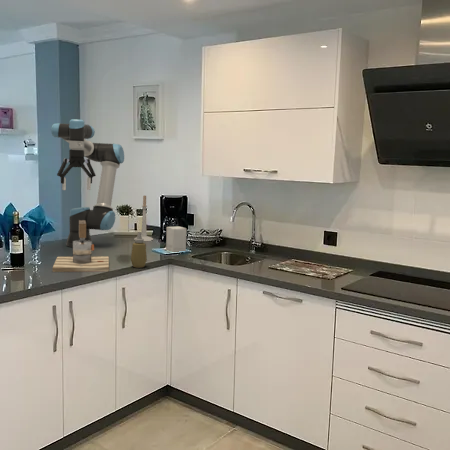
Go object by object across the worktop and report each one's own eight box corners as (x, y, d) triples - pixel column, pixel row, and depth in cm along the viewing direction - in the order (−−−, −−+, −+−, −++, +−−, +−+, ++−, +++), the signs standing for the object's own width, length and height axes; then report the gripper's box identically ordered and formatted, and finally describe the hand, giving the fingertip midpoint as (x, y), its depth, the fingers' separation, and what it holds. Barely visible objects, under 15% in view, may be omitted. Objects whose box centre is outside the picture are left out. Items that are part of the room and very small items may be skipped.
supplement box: (186, 253, 302) (187, 228, 300) (172, 254, 297) (173, 228, 295) (178, 250, 309) (179, 226, 307) (165, 251, 304) (166, 226, 302)
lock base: (57, 260, 268) (57, 249, 267) (108, 260, 274) (108, 249, 273) (52, 271, 243) (52, 259, 242) (108, 271, 249) (108, 259, 248)
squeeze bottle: (133, 268, 257) (134, 233, 254) (128, 265, 264) (129, 230, 261) (148, 267, 260) (149, 232, 258) (143, 264, 268) (144, 230, 265)
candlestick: (135, 242, 331) (136, 195, 327) (132, 238, 343) (133, 193, 339) (155, 241, 335) (156, 196, 331) (151, 238, 347) (152, 194, 343)
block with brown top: (73, 256, 251) (73, 223, 249) (72, 251, 262) (72, 220, 260) (94, 255, 254) (94, 223, 252) (93, 250, 265) (93, 220, 263)
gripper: (55, 148, 258) (55, 190, 261) (102, 150, 274) (101, 190, 277) (50, 148, 264) (50, 189, 267) (96, 150, 279) (95, 188, 282)
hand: (76, 189), depth 272 cm, fingers open, 13 cm apart
